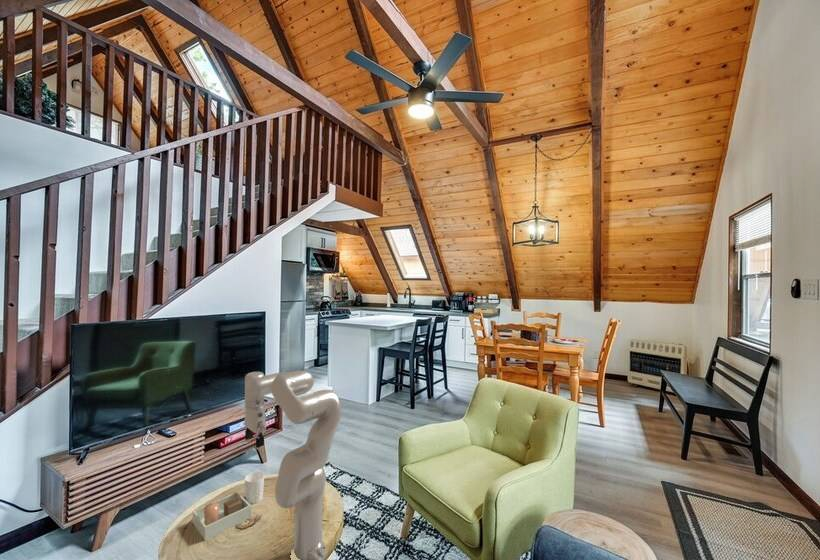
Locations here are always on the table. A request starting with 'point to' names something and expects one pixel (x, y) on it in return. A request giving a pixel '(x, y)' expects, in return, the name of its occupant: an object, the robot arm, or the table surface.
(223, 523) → the tote
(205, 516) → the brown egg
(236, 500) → the cube
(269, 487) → the table surface
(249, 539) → the table surface
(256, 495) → the white cup
